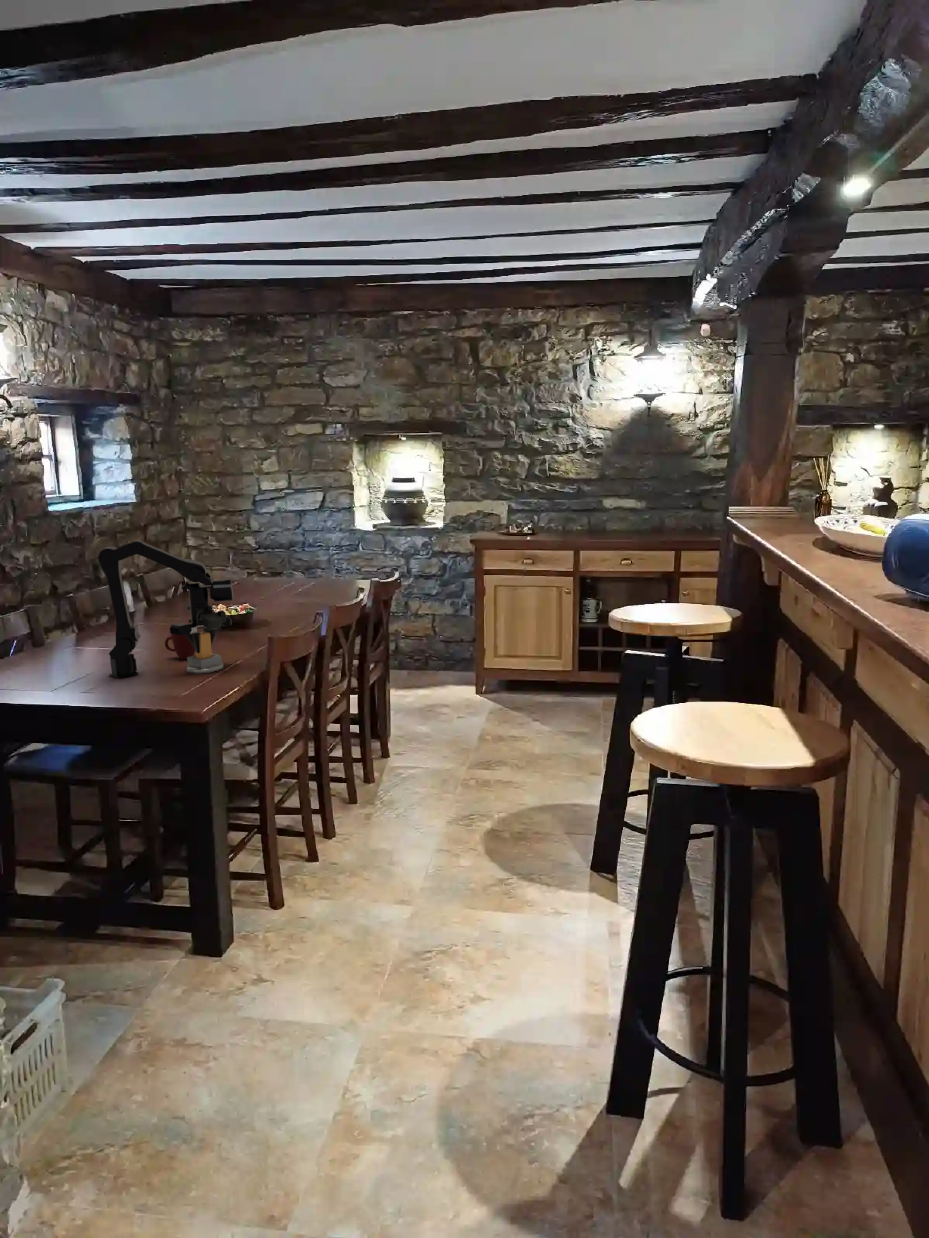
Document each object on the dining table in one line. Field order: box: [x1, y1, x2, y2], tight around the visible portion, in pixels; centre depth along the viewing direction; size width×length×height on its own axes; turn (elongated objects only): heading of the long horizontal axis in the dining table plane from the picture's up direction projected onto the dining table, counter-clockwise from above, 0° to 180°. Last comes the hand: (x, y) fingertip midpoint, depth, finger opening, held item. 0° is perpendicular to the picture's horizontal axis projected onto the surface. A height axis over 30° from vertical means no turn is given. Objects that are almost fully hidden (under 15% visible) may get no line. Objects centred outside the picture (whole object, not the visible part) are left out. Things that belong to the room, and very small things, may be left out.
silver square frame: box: [186, 652, 224, 675], centre depth 278 cm, size 11×11×4 cm
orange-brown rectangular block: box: [195, 631, 213, 659], centre depth 277 cm, size 4×4×8 cm
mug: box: [164, 633, 196, 660], centre depth 293 cm, size 11×8×10 cm
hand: (203, 651), depth 277 cm, fingers closed on orange-brown rectangular block, 3 cm apart
